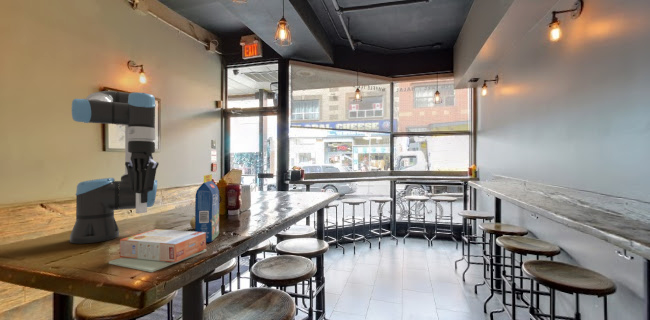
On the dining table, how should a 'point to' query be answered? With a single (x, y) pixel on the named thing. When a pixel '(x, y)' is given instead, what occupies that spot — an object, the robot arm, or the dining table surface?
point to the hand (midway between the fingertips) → (141, 212)
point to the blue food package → (207, 209)
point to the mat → (146, 263)
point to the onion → (192, 223)
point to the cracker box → (163, 245)
